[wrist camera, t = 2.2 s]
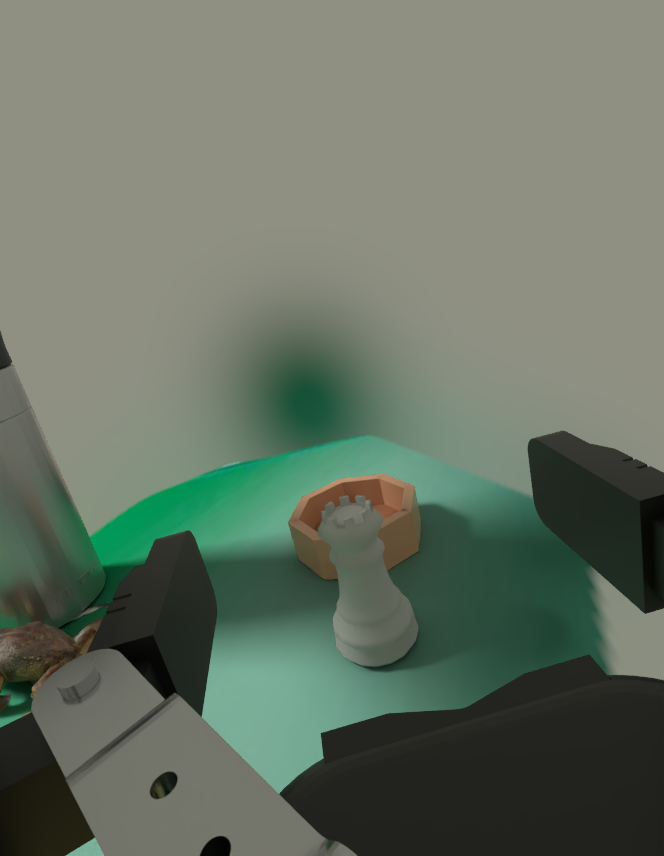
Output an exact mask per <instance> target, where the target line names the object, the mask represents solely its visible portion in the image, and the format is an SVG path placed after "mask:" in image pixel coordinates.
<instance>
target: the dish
mask: <svg viewBox="0 0 664 856" xmlns="http://www.w3.org/2000/svg"><path fill="white" fill-rule="evenodd" d="M347 495H348V496H349V500H350V503H356V500H355V497H356V496H357V495H363V496H365V497H366V500H369V499H370V500H371V503H372V507H373V508H374V509H375V510H376V511H378V512H379V513H381V514H382V517H383V520H384V521H383V523H382V526H381V528H380V530H379V532H378V534H377V537H378V538H379V539H380V540H382V541H383V543H384V546H385V549H384V551H383V554H382V556H383V560H384V564H385V566H386V569H387V570H389V569H391V568H392V567H394V566H395V565H397V564H399V563H400V562H402V561H403V560H405V559H407V558H408V557H410V556H412V555H413V554H415V553H416V552H418V551H419V544H420V533H421V517H420V512H419V507H418V502H417V497H416V492H415V486H414V485H411V484H409V483H406V482H404V481H401V480H398V479H396V478H393V477H391V476H388V475H385V474H378V475H370V476H361V477H352V478H343V479H338V480H336V481H334V482H332V483H330V484H328V485H326V486H324V487H322V488H320V489H318V490H316V491H314V492H312V493H310V494H308V495H306V496H304V497H302V498H301V499H300V501H299V503H298V505H297V507H296V509H295V510H294V512H293V514H292V516H291V518H290V520H289V522H288V524H289V528H290V531H291V535H292V538H293V541H294V545H295V548H296V552H297V555H298V559H299V560H300V561H301V562H303V563H304V564H305V565H306V566H308V567H309V568H310V569H311V570H313V571H314V572H315V573H316V574H318V575H319V576H320V577H321V578H323V579H324V580H329V579H338V574H337V570H336V566H335V565H334V564H333V563H332V562H331V561H330V559H329V554H330V552H331V550H332V548H331V546H330V545H329V544H327V543H326V542H324V541H323V540H322V539H321V538H320V537H319V536H318V528H319V526H320V524H321V522H322V517H321V511H325V508H324V505H326V504H327V503H328V502H330V501H331V502H334V506H335V508H336V507H338V506H340V505H341V504H340V500H339V497H342V496H347Z"/></svg>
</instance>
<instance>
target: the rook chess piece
mask: <svg viewBox="0 0 664 856" xmlns="http://www.w3.org/2000/svg"><path fill="white" fill-rule="evenodd" d="M339 500H340V504H341V505H340V506H338V507H336V508H335V506H334V502H331V501H330V502H328V503H327V504H326V505H324V508H325V511H321V517H322V522H321V524H320V526H319V528H318V536H319V537H320V538H321V539H322V540H323V541H324V542H326V543H327V544H329V545H330V546H331V548H332V550H331V552H330V554H329V559H330V561H331V562H332V563H333V564H334V565H335V566H336V570H337V574H338V581H339V590H340V594H339V600H338V602H337V604H336V606H337V609H336V611H335V614H334V616H333V627H334V634H335V637H336V646H337V649H338V650H339V651H340V652H341V654H342V655H343V656H344V657H345V658H347V659H348V660H350V661H353V662H355V663H357V664H359V665H361V666H365V667H381V666H385V665H389V664H392V663H394V662H396V661H397V660H399V659H400V658H402V657H404V656H405V654H406V653H407V652H408V651H409V649H410V648H411V647H412V645H413V644H414V643H415V641H416V639H417V634H418V629H419V627H418V624H417V621H416V618H415V616H414V615H415V614H414V611H413V608H412V605H411V603H410V601H409V600H408V598H407V597H406V596H404V595H403V594H402V593H401V592H400V589H399V588H397V587H396V586H395V585H394V584H393V582H392V581H391V579H390V576H389V574H388V571H387V569H386V566H385V564H384V560H383V556H382V554H383V551H384V549H385V546H384V543H383V541H382V540H380V539H379V538H378V537H377V534H378V532H379V530H380V528H381V526H382V523H383V521H384V520H383V517H382V514H381V513H379V512H378V511H376V510H375V509H374V508H373V507H372V503H371V500H370V499H369V500H366V497H365V496H363V495H357V496H356V497H355V500H356V503H350V500H349V496H348V495H347V496H342V497H339Z"/></svg>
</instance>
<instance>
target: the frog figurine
mask: <svg viewBox="0 0 664 856" xmlns="http://www.w3.org/2000/svg"><path fill="white" fill-rule="evenodd" d="M107 605H110V603H104V604H100V605H97V606H95V607H92V608H89V609H84V610H83V611H82V612H81V613H79V614H78V615H77V616H75V617H74V618H73V619H71V620H70V621H72V620H75V619H77V618H80V617H81V616H82V615H84V614H88V613H91V612H93V611H95V610H97V609H99V607H103V606H107ZM102 620H103V619H99V620H97V621H94V622H93V623H91V624H89V625H86V626H85V627H84V628H83V629H82V630H81V631H80V632H79V634H78V635H76V636H75V637H74V638H72V637H70V636H69V635H68V634H66V633H64V631H62V630H61V629H58V628H56V627H53V626H50V625H47V624H43V623H42V622H39V621H36V622H32V623H28V624H26V625H24V626H21V627H17V628H3V629H1V630H0V693H1V690H2V688H3V684H4V682H21V681H30V682H31V683H32V684H33V687H32V693H31V695H30V697H31V698H34V696H35V694H36V692H37V691H38V690H39V688H40V687H41V685H42V684H43V683H44V682H45V681H46V680H47V679H48V678H49V677H50V676H51V675H52V674H53V673H54V672H56V671H57V670H58V669H59V668H61V667H62V666H64V665H65V664H67V663H68V662H70V661H72V660H73V659H75V658H77V657H79V656H81V655H84V654H86V653H87V651H88V648H89V646H90V644H91V642H92V640H93V638H94V636H95V634H96V632H97V630H98V628H99V626H100V624H101V622H102ZM68 622H69V621H68ZM10 698H11V695H10V694H6V695H0V712H1V711H2V710H4V709H5V708H6V706H7V705H8V703H9V701H10ZM31 712H32V711H31ZM29 713H30V711H29ZM29 713H27V714H29ZM27 714H25V715H27ZM25 715H24V716H25ZM22 717H23V716H22Z"/></svg>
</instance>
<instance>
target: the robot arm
mask: <svg viewBox="0 0 664 856" xmlns="http://www.w3.org/2000/svg"><path fill="white" fill-rule="evenodd" d="M11 363H12V360H11V358H10V356H9V354H8V352H7V349H6V347H5V344H4V342H3V338H2V335H1V332H0V630H1V629H3V628H17V627H21V626H24V625H26V624H28V623H32V622H36V621H39V622H42V623H43V624H47V625H50V626H53V627H56V628H59V627H61V626H62V625H64V624H65V623H67V622H68V621H70V620H71V619H73V618H74V617H75V616H77V615H78V614H79V613H81V612H82V611H83V610H84V609H85V608H86V607H88V606H89V605H90V604H91V603H92V602H93V601H94V600H95V598H96V597H97V596H98V595H99V594H100V592H101V590H102V589H103V587H104V585H105V581H106V575H105V572H104V569H103V567H102V565H101V562H100V560H99V558H98V556H97V553H96V551H95V549H94V547H93V544H92V542H91V540H90V538H89V535H88V533H87V530H86V528H85V526H84V523H83V521H82V519H81V517H80V514H79V512H78V510H77V507H76V505H75V503H74V501H73V499H72V496H71V494H70V492H69V489H68V487H67V485H66V483H65V480H64V478H63V476H62V474H61V471H60V469H59V467H58V465H57V462H56V460H55V458H54V455H53V453H52V451H51V449H50V446H49V444H48V442H47V440H46V437H45V435H44V433H43V431H42V428H41V426H40V424H39V421H38V419H37V417H36V415H35V412H34V410H33V408H32V406H31V404H30V402H29V399H28V397H27V395H26V393H25V390H24V388H23V386H22V384H21V381H20V379H19V377H18V375H17V372H16V370H15V368H14V365H12V364H11ZM528 456H529V464H530V473H531V481H532V490H533V498H534V504H535V507H536V510H537V513H538V515H539V517H540V519H541V520H542V522H543V523H544V524H545V525H546V526H547V527H548V528H549V529H550V530H551V531H552V532H553V533H554V534H556V535H557V536H558V537H559V538H560V539H561V540H562V541H564V542H565V543H566V544H567V545H568V546H569V547H570V548H571V549H573V550H574V551H575V552H576V553H577V554H578V555H579V556H580V557H582V558H583V559H584V560H585V561H586V562H587V563H588V564H589V565H591V566H592V567H593V568H594V569H595V570H596V571H597V572H598V573H600V574H601V575H602V576H603V577H604V578H605V579H606V580H607V581H609V582H610V583H611V584H612V585H613V586H615V588H617V589H618V590H619V591H620V592H621V593H622V594H623V595H625V596H626V597H627V598H628V599H629V600H630V601H631V602H632V603H634V604H635V605H636V606H637V607H638V608H639V609H640V610H641V611H642V612H644V613H645V614H646V613H649V612H653V611H656V610H660V609H663V608H664V473H663V472H661V471H659V470H657V469H655V468H653V467H651V466H650V467H648V466H647V464H645V463H643V462H641V461H639V460H637V459H635V460H633V458H632V457H630V456H628V455H626V454H624V453H622V452H620V451H618V450H616V449H613V448H608V447H603V446H599V445H594V444H589V443H587V442H585V441H583V440H581V439H579V438H577V437H576V436H574V435H572V434H570V433H568V432H565V431H560V432H555V433H552V434H548V435H544V436H540V437H537V438H533V439H531V440H530V441H529V443H528ZM106 613H107V615H104V617H103V620H102V622H101V624H100V626H99V628H98V630H97V632H96V634H95V636H94V638H93V640H92V642H91V644H90V646H89V648H88V651H87V653H86V654H84V655H81V656H79V657H77V658H75V659H73V660H72V661H70V662H68V663H67V664H65V665H64V666H62V667H61V668H59V669H58V670H57V671H56V672H54V673H53V674H52V675H51V676H50V677H49V678H48V679H47V680H46V681H45V682H44V683H43V684H42V685H41V687H40V688H39V690H38V691H37V692H36V694H35V696H34V698H33V701H32V706H31V710H32V712H30V713H29V714H27V715H25V716H23V717H21V718H19V719H17V720H15V721H13V722H11V723H9V724H7V725H5V726H3V727H1V728H0V856H65V855H67V854H69V853H70V852H72V851H74V850H75V849H77V848H78V847H80V846H82V845H83V844H85V843H87V842H88V841H90V840H92V839H93V838H96V840H97V842H98V844H99V846H100V848H101V850H102V852H103V854H104V856H664V680H659V679H655V678H648V677H639V676H626V675H606V673H605V672H604V671H603V670H602V669H601V668H600V666H599V665H598V664H597V663H596V662H595V661H594V659H593V658H592V657H591V656H590V655H586V656H583V657H580V658H576V659H573V660H569V661H566V662H563V663H559V664H556V665H552V666H549V667H545V668H542V669H539V670H535V671H532V672H528V673H525V674H523V675H521V676H520V677H518V678H516V679H515V680H513V681H511V682H509V683H508V684H506V685H504V686H503V687H501V688H499V689H497V690H496V691H494V692H492V693H491V694H489V695H487V696H486V697H484V698H482V699H480V700H479V701H477V702H475V703H474V704H472V705H470V706H468V707H466V708H462V709H456V710H439V711H422V712H406V713H389V714H385V715H382V716H378V717H375V718H371V719H368V720H364V721H361V722H358V723H354V724H351V725H347V726H344V727H341V728H337V729H334V730H330V731H327V732H323V733H321V739H322V748H323V756H324V759H322V760H320V761H319V762H317V763H315V764H314V765H312V766H311V767H309V768H308V769H307V770H305V771H304V772H303V773H301V774H300V775H299V776H297V777H296V778H295V779H294V780H293V781H292V782H291V783H290V784H289V785H287V786H286V787H285V788H284V789H283V790H282V791H281V792H280V794H278V793H277V792H276V791H275V790H274V789H273V788H272V787H271V786H270V785H269V784H268V783H267V782H266V781H265V780H264V779H263V778H262V777H261V776H260V775H259V774H258V773H257V772H256V771H255V770H254V769H253V768H252V767H251V766H250V765H249V764H248V763H247V762H246V761H245V760H244V759H243V758H242V757H241V756H240V755H239V754H238V753H237V752H236V751H235V750H234V749H233V748H232V747H231V746H230V745H229V744H228V743H227V742H226V741H225V740H224V739H223V738H222V737H221V736H220V735H219V734H218V733H217V732H216V731H215V730H214V729H213V728H212V727H211V726H210V725H209V724H208V723H207V722H206V721H205V720H204V719H203V718H202V711H203V704H204V697H205V691H206V684H207V677H208V671H209V664H210V657H211V651H212V644H213V637H214V631H215V624H216V617H217V606H216V599H215V594H214V590H213V587H212V584H211V582H210V579H209V576H208V573H207V571H206V568H205V565H204V562H203V559H202V557H201V554H200V551H199V548H198V546H197V543H196V540H195V538H194V536H193V534H192V533H191V532H190V531H189V530H188V531H184V532H181V533H177V534H173V535H170V536H166V537H162V538H158V539H156V540H155V541H154V543H153V546H152V548H151V550H150V553H149V555H148V557H147V560H146V562H145V564H144V565H140V566H137V567H135V568H134V569H133V570H132V571H131V572H130V573H129V574H128V575H127V576H126V577H125V578H124V579H123V581H122V582H121V583H120V584H119V586H118V589H117V591H116V593H115V595H114V597H113V601H112V602H111V603H110V605H109V607H108V609H107V611H106Z"/></svg>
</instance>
